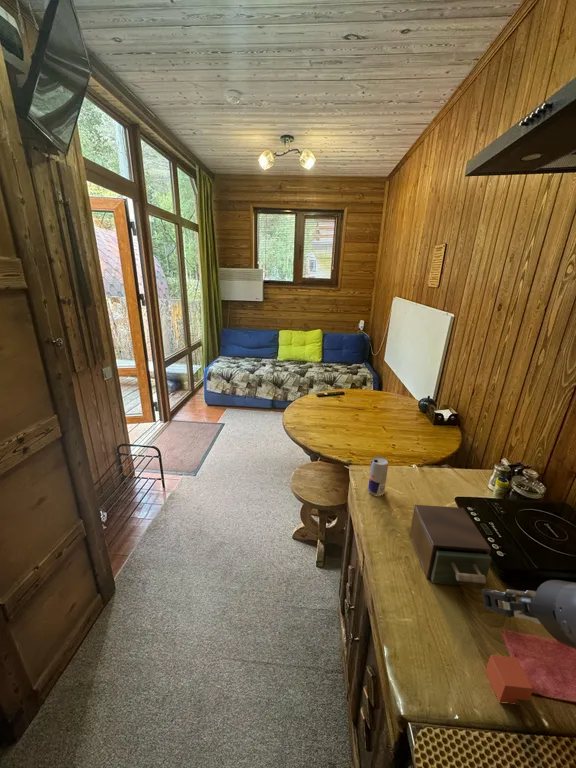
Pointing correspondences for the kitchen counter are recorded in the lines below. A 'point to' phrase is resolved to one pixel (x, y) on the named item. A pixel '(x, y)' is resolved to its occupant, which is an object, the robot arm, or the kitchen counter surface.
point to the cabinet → (443, 533)
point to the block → (508, 679)
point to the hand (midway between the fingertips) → (511, 598)
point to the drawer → (460, 567)
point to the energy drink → (378, 476)
